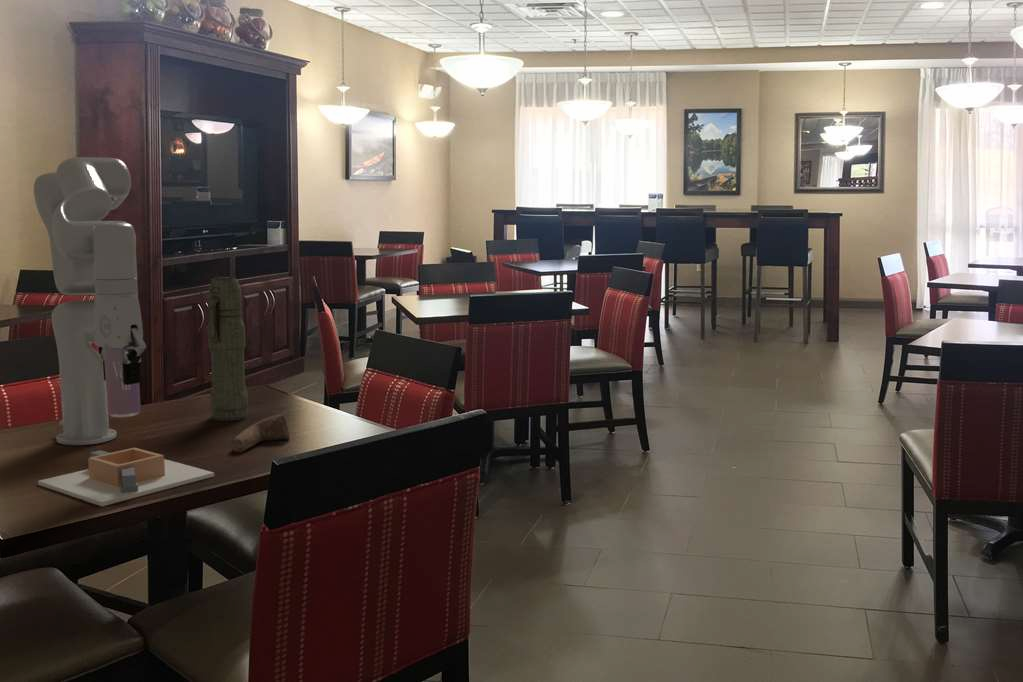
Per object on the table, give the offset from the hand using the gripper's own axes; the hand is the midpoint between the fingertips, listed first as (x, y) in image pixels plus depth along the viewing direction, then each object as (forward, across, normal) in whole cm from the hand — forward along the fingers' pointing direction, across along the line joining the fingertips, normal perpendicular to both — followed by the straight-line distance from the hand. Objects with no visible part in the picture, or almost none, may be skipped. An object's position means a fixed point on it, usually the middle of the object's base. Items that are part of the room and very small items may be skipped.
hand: (122, 380), depth 191 cm
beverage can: (+7, 0, 0) cm, 7 cm away
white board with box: (+20, 0, 0) cm, 20 cm away
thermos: (+20, -30, +47) cm, 59 cm away
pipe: (+20, -2, +35) cm, 40 cm away
